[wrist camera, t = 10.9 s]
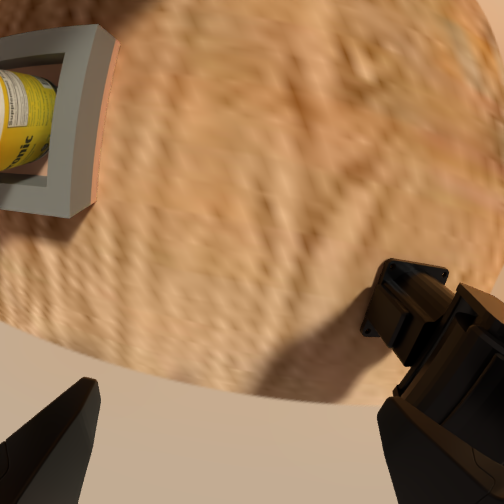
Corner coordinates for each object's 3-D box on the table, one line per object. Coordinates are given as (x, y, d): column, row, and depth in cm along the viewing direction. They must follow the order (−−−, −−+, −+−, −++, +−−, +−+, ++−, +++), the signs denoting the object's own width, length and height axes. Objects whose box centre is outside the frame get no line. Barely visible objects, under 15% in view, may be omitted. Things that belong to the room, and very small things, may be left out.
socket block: (120, 43, 14) (98, 24, 11) (96, 200, 18) (69, 218, 14) (0, 54, 13) (-33, 47, 9) (-16, 189, 16) (-49, 203, 12)
